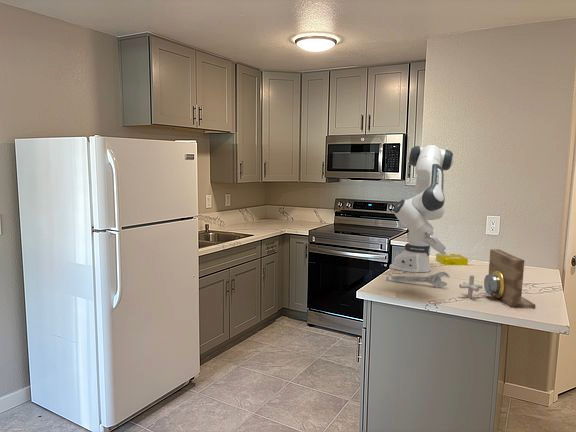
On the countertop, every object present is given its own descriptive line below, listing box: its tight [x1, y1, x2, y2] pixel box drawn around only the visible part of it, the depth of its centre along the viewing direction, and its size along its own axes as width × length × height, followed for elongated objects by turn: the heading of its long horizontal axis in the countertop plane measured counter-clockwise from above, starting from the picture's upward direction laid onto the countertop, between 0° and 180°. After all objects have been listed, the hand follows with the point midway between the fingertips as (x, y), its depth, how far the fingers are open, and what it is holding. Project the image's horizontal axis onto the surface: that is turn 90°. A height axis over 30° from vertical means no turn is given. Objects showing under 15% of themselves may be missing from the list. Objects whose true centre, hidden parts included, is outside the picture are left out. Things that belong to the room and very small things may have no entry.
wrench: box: [386, 270, 451, 289], centre depth 214 cm, size 8×2×30 cm
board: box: [487, 248, 536, 309], centre depth 193 cm, size 10×24×20 cm, turn 177°
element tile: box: [435, 253, 469, 266], centre depth 268 cm, size 15×15×5 cm
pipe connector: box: [458, 274, 484, 299], centre depth 194 cm, size 10×10×10 cm
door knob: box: [483, 271, 505, 299], centre depth 194 cm, size 5×12×12 cm, turn 177°
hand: (444, 254), depth 193 cm, fingers closed
